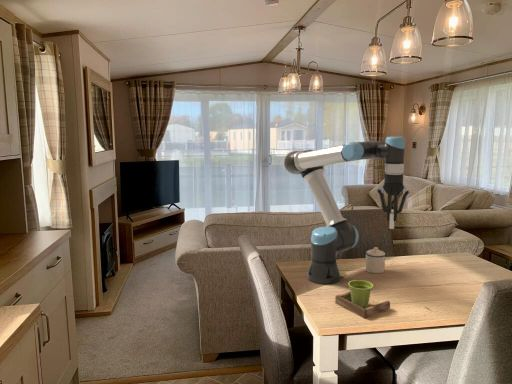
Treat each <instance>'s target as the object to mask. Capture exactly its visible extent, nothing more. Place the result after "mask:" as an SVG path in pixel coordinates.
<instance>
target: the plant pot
mask: <svg viewBox="0 0 512 384" xmlns="http://www.w3.org/2000/svg"><path fill="white" fill-rule="evenodd" d="M347 285H348V287H349V290H350V291H349V292H351V299H352V300H351V302H352V303H354V304H356V305H358V306H360V307H362V308H364V309H365V308H368V307H369V301H370V296H371V292H372V290H373V288H374V284H373V283H372V282H370V281H367V280H361V279H353V280H350V281H349V282H348V283H347Z"/></svg>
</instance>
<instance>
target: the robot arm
mask: <svg viewBox="0 0 512 384" xmlns="http://www.w3.org/2000/svg"><path fill="white" fill-rule="evenodd" d="M405 149H406V141H405V137H404V136H386V138H385V141H383V140H382V141H381V140H379V141H378V140H365V141H350V142H347V143H345V144H340V145H334V146H330V147H329V146H328V147H324V148H319V149H314V150H313V149H307V150H305V149H304V150H292V151H290V152H289V153H287V154H286V155H285V157H284V161H283V163H284V168H285V170H286V171H287V172H289V174H292V175H300V176H301V177H302V179H303V180H304V181H305V182H307V184H308V185H309V187H310V190H311V192H312V195H313V197H314V199H315V202H316V204H317V207H318V209H319V211H320V213H321V216H322V217H323V219H324V223H325V224H326V225H325V226H319V227H316V228H314V229H313V230H312V232H311V237H310V248H311V249H310V253H311V254H310V264H309V266H308V268H307V269H308V270H307V273H306V274H307V275H306V278H307V279H308V280H309V282H311V283H316V284H322V285H325V284H326V285H331V284H335V283H338V282H339V281H340V280H341V272H340V269H339V267H338V263H337V261H338V260H337V259H338V258H337V257H338V255H337V254H339V253H343V252H344V251H349V250H351V249H352V248H355V247H356V246H357V244H358V242H359V238H360V237H359V232H358V229H357V227H355V226H354V225H353V224H351V223H350V222H349V221H348V219H347V218H344V217H343V215H342V214H341V213H342V212H341V211H340V209H339V207H338V204H337V202H336V200H335V198H334V196H333V194H332V191H331V189H330V186H329V184H328V182H327V179H326V178H325V176H324V173H325V169H324V168H325V166H330V165H335V164H341V163H348V162H354V161H355V162H356V161H361V160H372V159H377V160H378V159H379V160H384V179H383V180H384V181H383V182H384V183H383V185H382V187H381V188H378V189H377V193H378V194H379V197H380V198H379V199H380V203H381V207H382V212H385V213H386V214H387V215H386V218H387V219H386V220H387V221H389V224H388V225H389V226H388V228H389V229H390V230H394V229H395V222H397V220H398V214H401V213H402V212H403V209H404V207H405V206H404V205H405V203H406V199H407V196H408V195H409V194H410V190H407V189H406V188H405V186H404V172H405V171H404V169H405V168H404V167H405ZM384 192H385V193H386V194H387V203H386V198H385V194H384ZM401 193H402V194H403V195H402V198H401V199H400V205H399V195H400V194H401ZM392 199H393V200H394V201H393V200H392ZM392 202H393V205H392ZM392 206H393V212H392Z"/></svg>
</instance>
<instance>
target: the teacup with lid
mask: <svg viewBox="0 0 512 384" xmlns="http://www.w3.org/2000/svg"><path fill="white" fill-rule="evenodd" d="M365 260H366V261H365V271H367V272H368V273H372V274H383V273H384V272H385V266H386V265H385V260H386V253H385V251H383V250H380V249H379V247H377V246H375V247H373V248H372V249H368V250H367V251H366V252H365Z"/></svg>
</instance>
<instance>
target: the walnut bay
mask: <svg viewBox="0 0 512 384" xmlns="http://www.w3.org/2000/svg"><path fill="white" fill-rule="evenodd" d="M334 301H335V304H337V305H338V306H340V307H342V308H343V309H346V310H347V311H349V312H351V313H353V314H354V315H357V316H360V317H361V318H363V319H366V318H370V317H373V316H375V315H378V314H380V313H384V312H386V311H389V310H390V309H391V301H389V300H386V301H384V302H380V303H376V304H374V305H371V306H368V307H366V308H364V307H363V308H362V307H360V306H358V305H356V304H354V303H352V299H351V291H348V292H344V293H341V294H338V295H335V300H334Z"/></svg>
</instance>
